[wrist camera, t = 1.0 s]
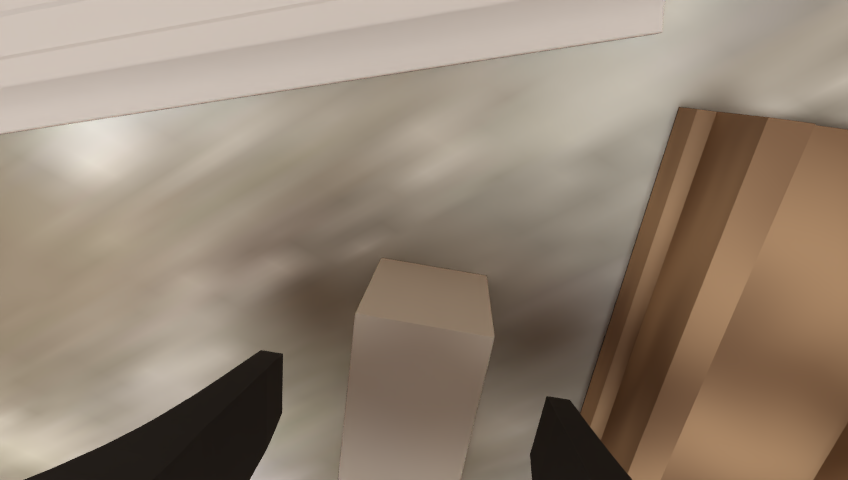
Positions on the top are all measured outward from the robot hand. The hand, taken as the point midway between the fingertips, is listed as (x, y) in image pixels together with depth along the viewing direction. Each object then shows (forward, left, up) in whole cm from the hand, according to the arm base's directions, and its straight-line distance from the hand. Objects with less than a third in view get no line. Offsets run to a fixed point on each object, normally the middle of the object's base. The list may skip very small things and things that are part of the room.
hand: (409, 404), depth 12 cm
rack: (0, -11, -4) cm, 12 cm away
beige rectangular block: (-4, 0, -4) cm, 6 cm away
